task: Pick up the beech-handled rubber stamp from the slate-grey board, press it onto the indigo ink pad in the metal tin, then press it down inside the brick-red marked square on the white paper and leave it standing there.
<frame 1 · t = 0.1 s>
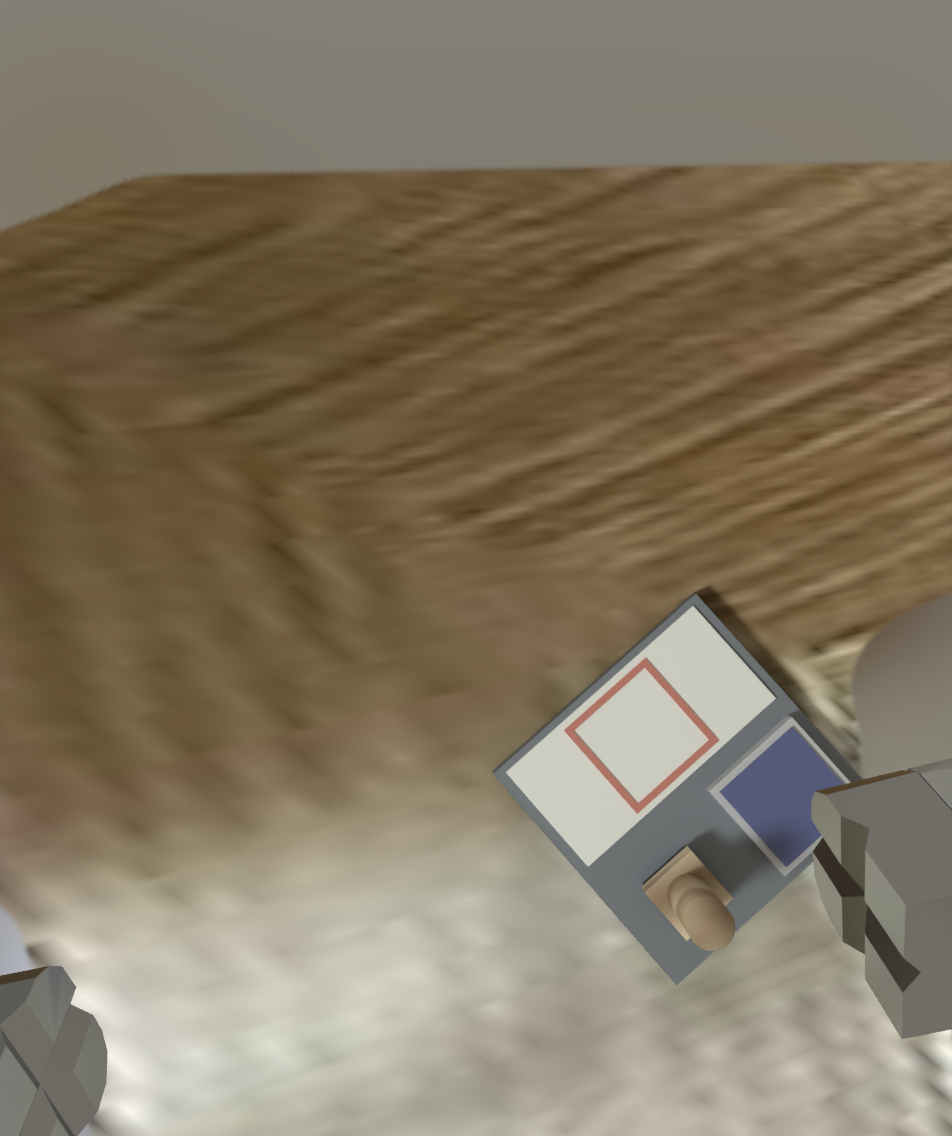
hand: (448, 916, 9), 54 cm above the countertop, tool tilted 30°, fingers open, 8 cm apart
stamping board: (682, 783, 62), on the countertop
stamp: (681, 885, 61), point 1 cm above the countertop, touching stamping board
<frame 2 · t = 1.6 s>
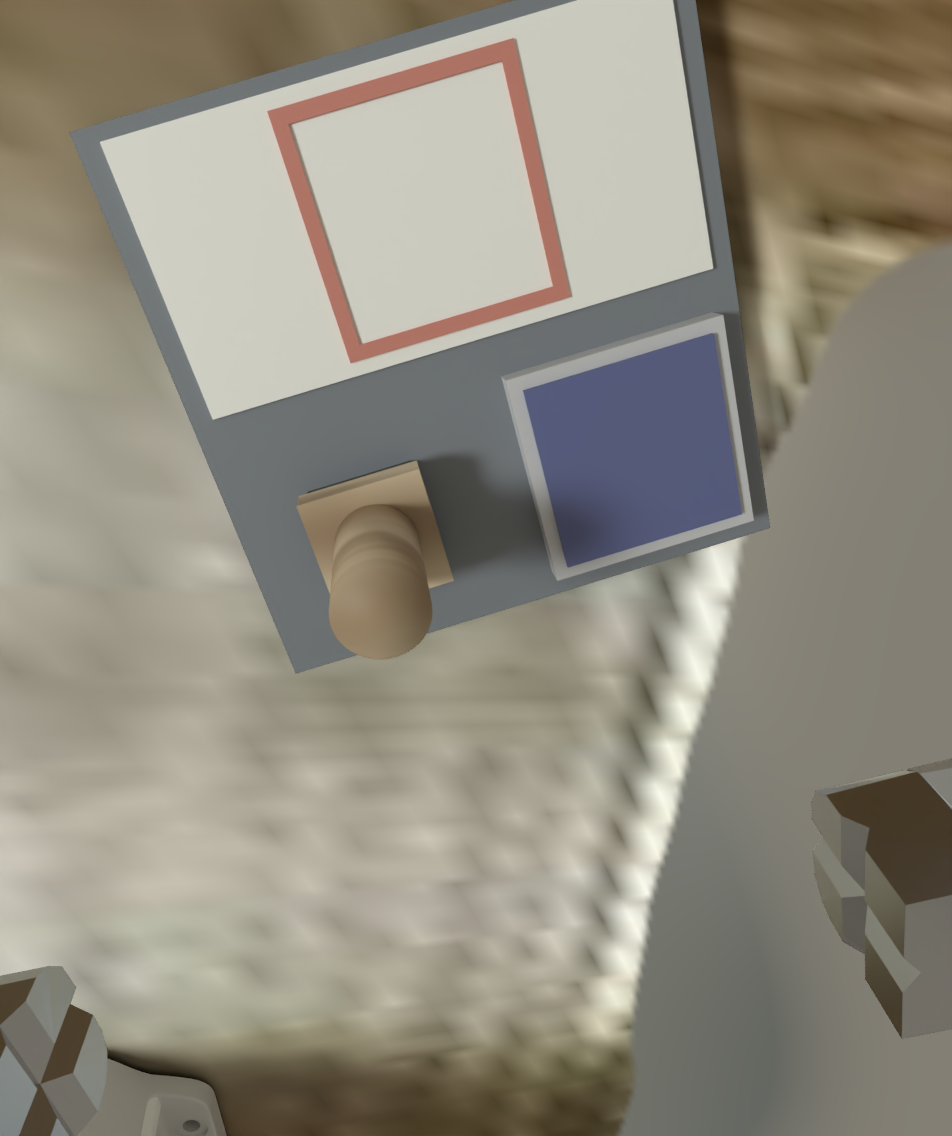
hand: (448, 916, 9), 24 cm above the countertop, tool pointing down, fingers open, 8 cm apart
stamping board: (463, 352, 31), on the countertop
stamp: (376, 524, 32), point 1 cm above the countertop, touching stamping board
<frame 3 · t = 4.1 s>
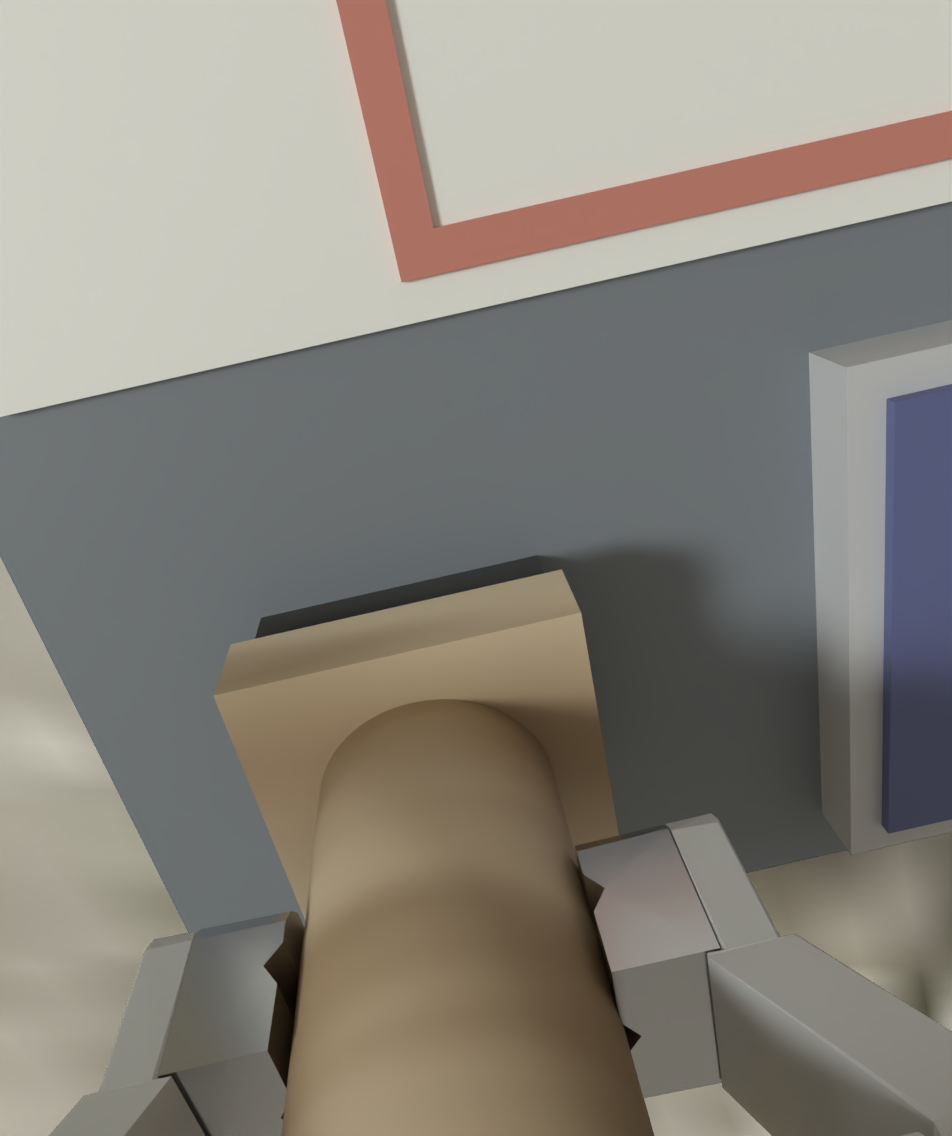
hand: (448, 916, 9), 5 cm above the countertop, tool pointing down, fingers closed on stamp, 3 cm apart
stamping board: (697, 281, 12), on the countertop
stamp: (430, 701, 13), point 1 cm above the countertop, touching gripper, stamping board
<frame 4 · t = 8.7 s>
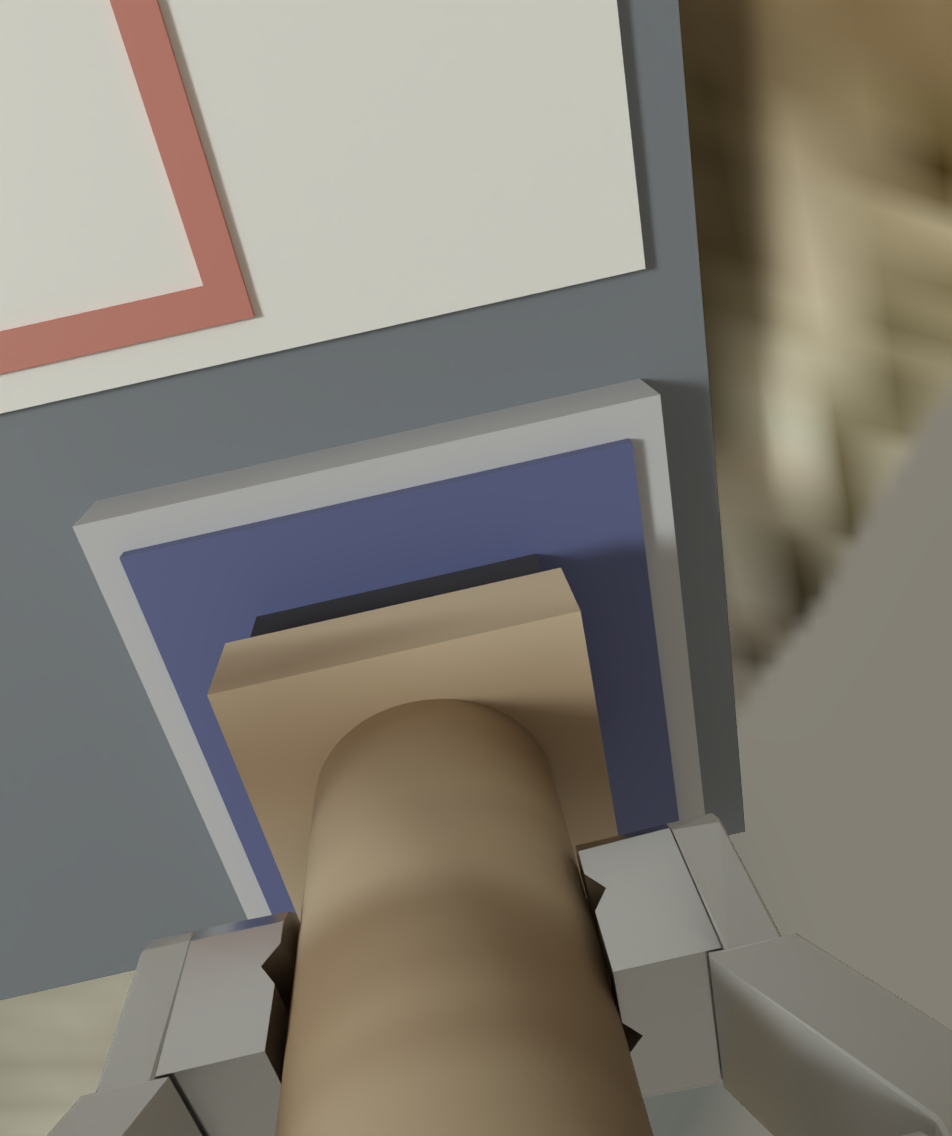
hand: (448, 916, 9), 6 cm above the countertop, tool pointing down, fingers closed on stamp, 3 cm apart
stamping board: (30, 427, 13), on the countertop
stamp: (427, 701, 13), point 2 cm above the countertop, touching gripper, stamping board
when the fingers open (5 cm above the countertop, at t = 15.5 s): stamp stays where it is, resting on stamping board.
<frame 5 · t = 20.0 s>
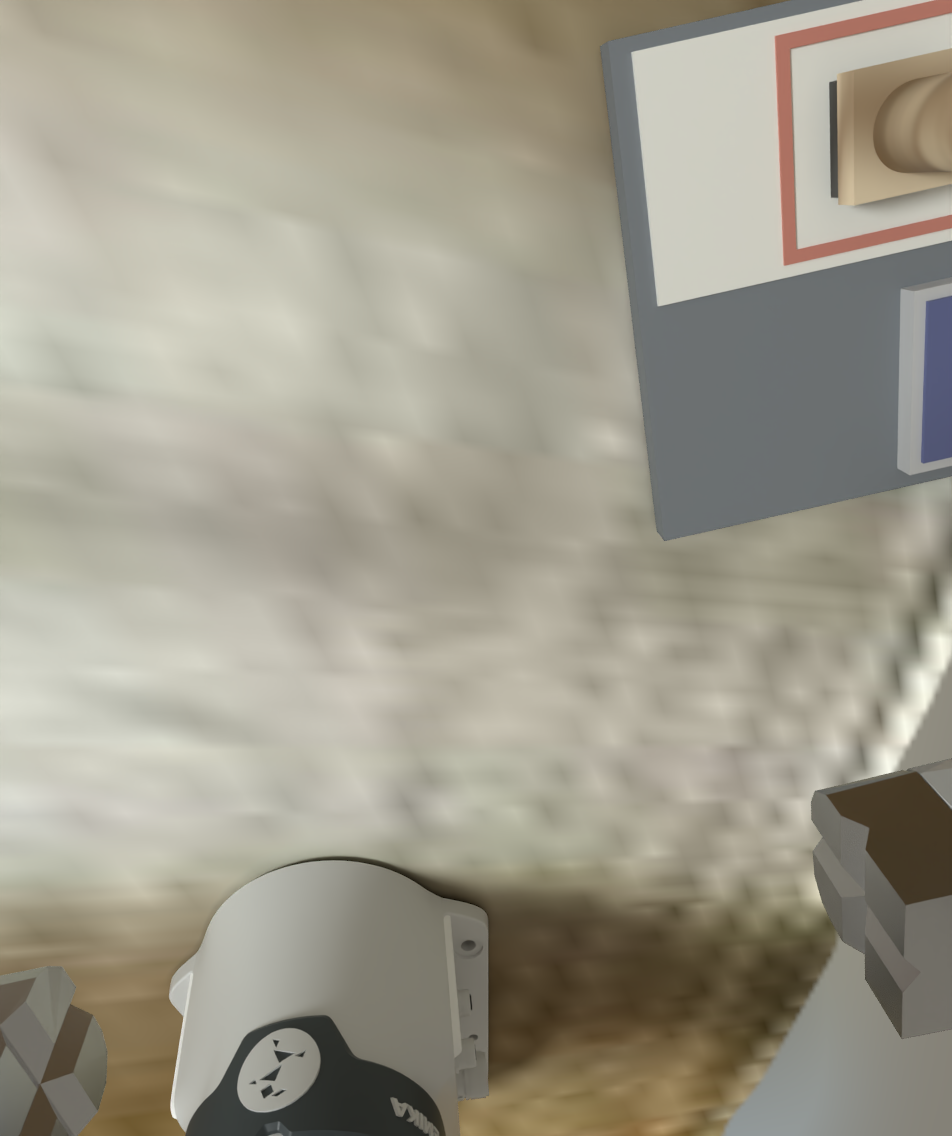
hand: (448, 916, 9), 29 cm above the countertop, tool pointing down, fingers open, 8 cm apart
stamping board: (862, 266, 35), on the countertop
stamp: (880, 130, 32), point 1 cm above the countertop, touching stamping board
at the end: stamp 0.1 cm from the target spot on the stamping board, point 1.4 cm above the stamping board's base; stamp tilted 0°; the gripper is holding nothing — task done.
